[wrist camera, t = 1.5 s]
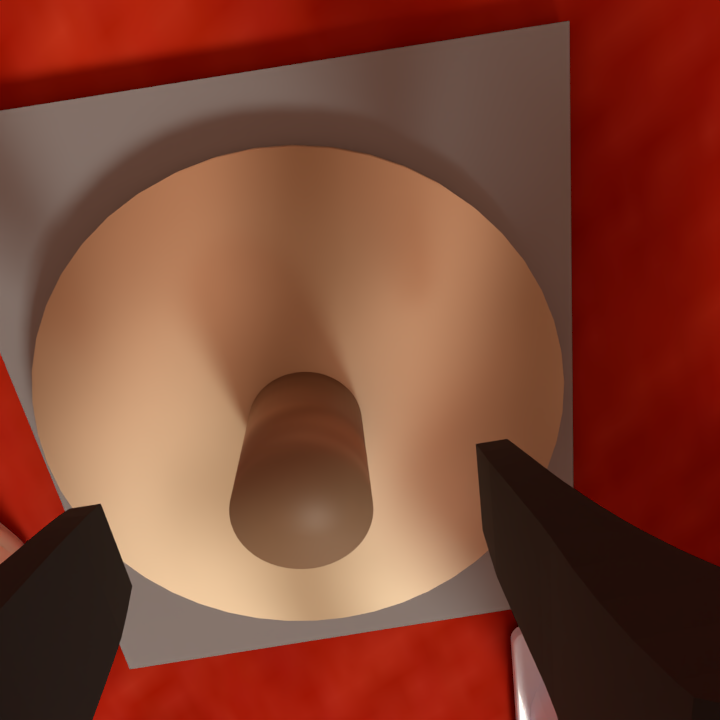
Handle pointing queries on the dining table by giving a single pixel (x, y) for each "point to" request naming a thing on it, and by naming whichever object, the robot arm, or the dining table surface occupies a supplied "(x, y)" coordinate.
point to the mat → (313, 128)
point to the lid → (293, 380)
